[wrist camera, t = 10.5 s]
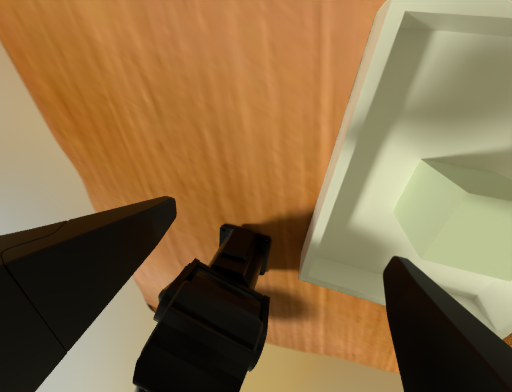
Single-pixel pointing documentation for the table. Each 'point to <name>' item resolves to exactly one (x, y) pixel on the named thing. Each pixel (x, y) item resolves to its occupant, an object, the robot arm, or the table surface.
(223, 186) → the table surface
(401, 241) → the bin
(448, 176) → the sage block
